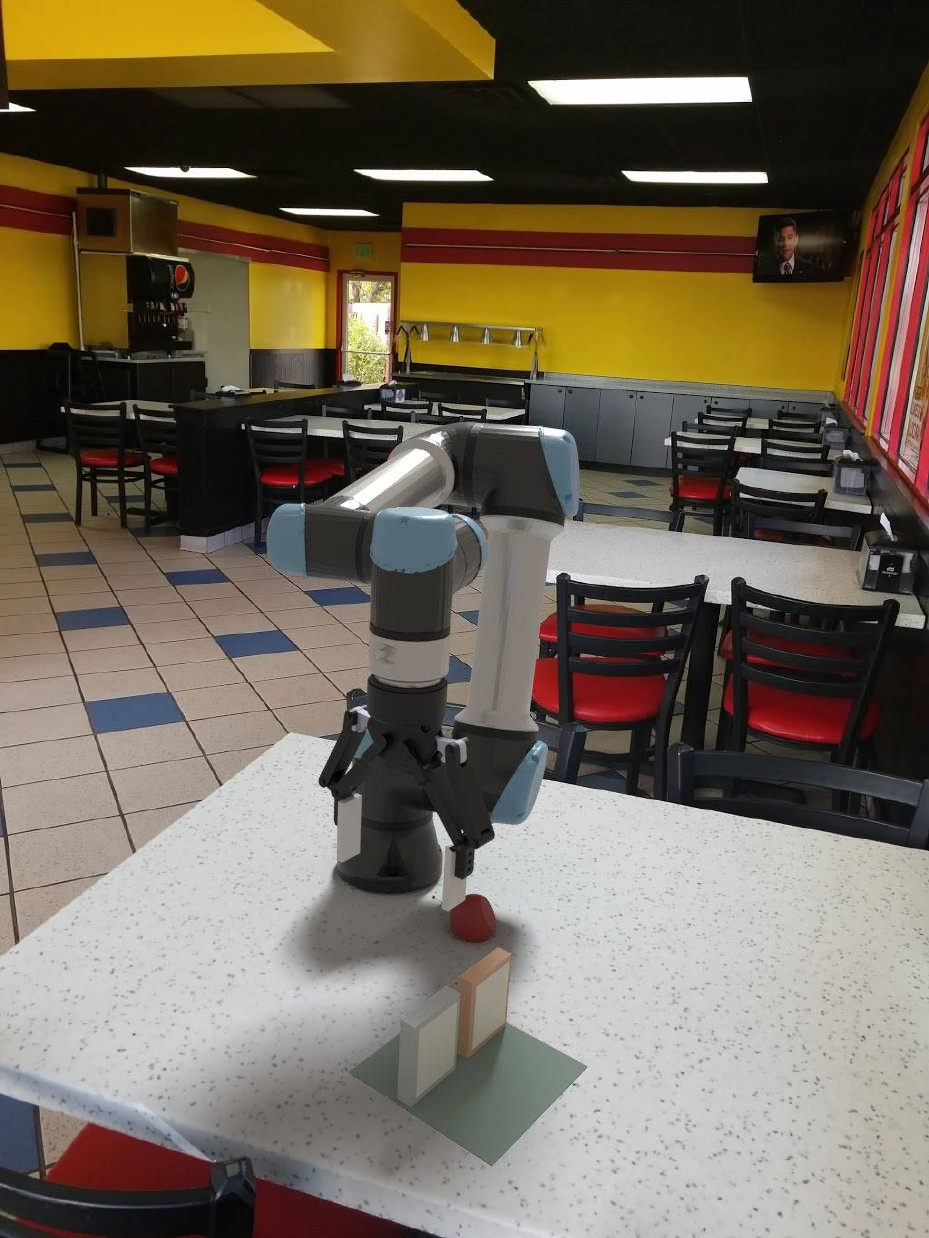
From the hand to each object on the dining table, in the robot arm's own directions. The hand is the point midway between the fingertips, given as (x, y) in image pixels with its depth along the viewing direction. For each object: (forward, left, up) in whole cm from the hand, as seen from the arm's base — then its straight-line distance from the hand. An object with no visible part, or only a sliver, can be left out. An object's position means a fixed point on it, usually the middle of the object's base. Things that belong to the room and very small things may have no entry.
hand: (398, 879), depth 95 cm
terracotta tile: (+5, +8, -20) cm, 23 cm away
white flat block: (+5, -1, -20) cm, 21 cm away
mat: (+7, +4, -21) cm, 23 cm away
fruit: (-9, +23, -21) cm, 33 cm away
